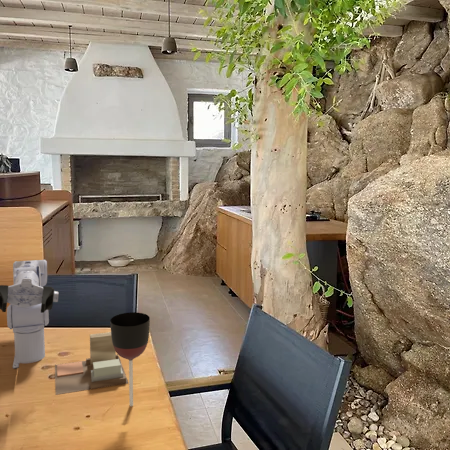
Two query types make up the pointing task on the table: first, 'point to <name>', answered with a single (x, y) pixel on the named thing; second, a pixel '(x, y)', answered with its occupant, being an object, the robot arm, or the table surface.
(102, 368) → the offcut upper
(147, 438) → the table surface
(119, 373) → the offcut lower
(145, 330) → the wineglass
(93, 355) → the tan wooden block
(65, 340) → the table surface
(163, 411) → the table surface
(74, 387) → the walnut rack
